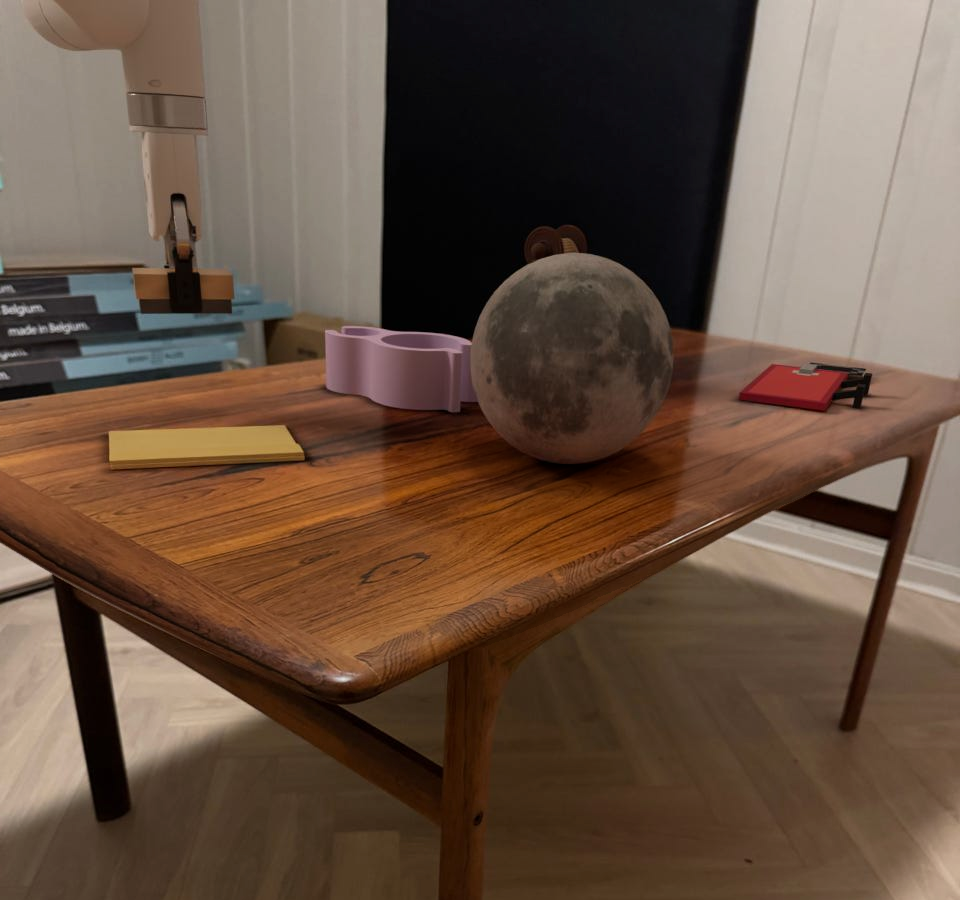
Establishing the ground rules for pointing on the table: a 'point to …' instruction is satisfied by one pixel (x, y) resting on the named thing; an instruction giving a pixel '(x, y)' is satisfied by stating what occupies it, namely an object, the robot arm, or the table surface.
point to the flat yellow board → (201, 446)
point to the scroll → (554, 242)
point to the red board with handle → (807, 385)
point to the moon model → (571, 358)
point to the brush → (156, 290)
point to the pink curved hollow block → (400, 367)
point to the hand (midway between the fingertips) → (184, 306)
